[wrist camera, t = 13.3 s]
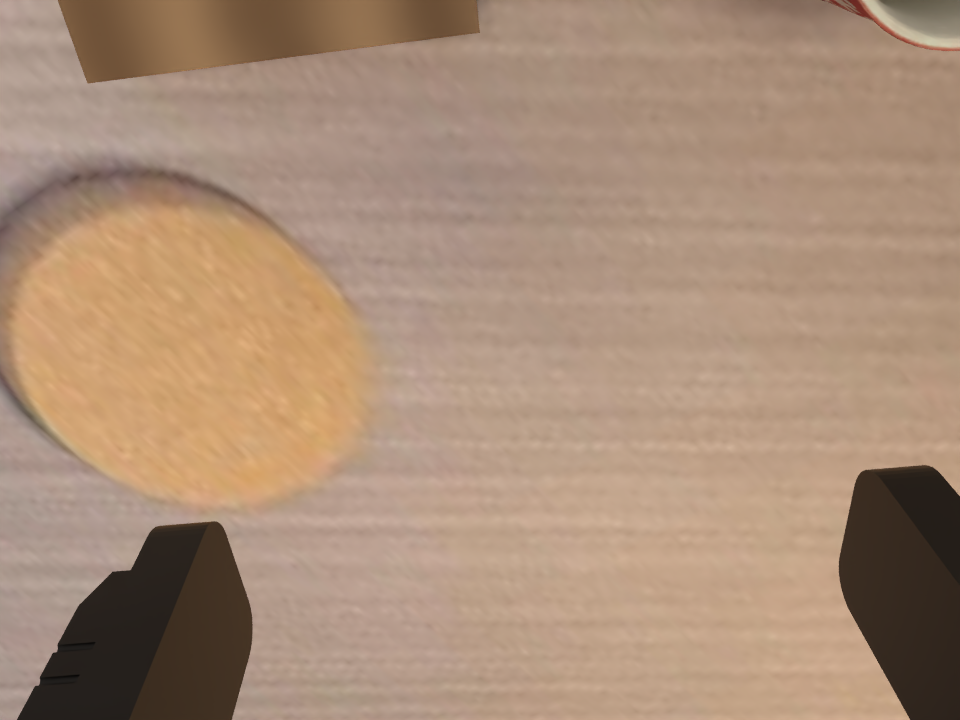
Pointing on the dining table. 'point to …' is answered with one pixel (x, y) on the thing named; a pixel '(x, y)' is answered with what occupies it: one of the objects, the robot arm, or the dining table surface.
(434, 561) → the dining table surface
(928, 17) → the mug
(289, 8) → the walnut riser
